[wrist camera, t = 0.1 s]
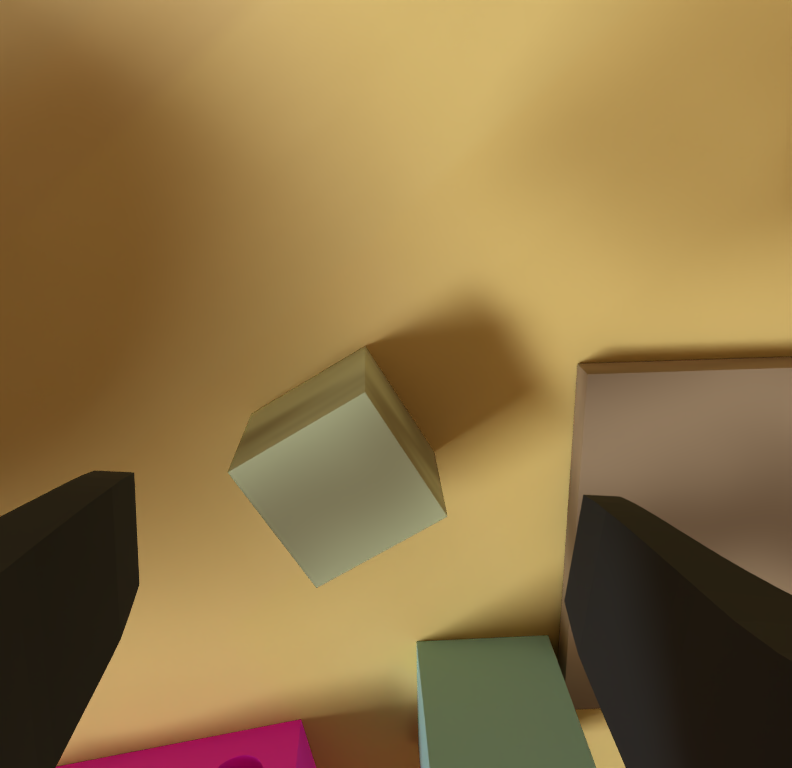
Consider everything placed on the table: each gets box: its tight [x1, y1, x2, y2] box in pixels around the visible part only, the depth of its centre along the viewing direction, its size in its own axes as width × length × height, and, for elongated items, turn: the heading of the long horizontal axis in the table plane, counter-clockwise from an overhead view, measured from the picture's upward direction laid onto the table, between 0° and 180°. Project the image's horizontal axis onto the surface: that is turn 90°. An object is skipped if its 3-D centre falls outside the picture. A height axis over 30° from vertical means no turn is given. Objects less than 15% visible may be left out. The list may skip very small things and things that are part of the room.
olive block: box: [228, 346, 447, 588], centre depth 20 cm, size 4×4×4 cm
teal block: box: [417, 635, 596, 768], centre depth 23 cm, size 4×4×6 cm
